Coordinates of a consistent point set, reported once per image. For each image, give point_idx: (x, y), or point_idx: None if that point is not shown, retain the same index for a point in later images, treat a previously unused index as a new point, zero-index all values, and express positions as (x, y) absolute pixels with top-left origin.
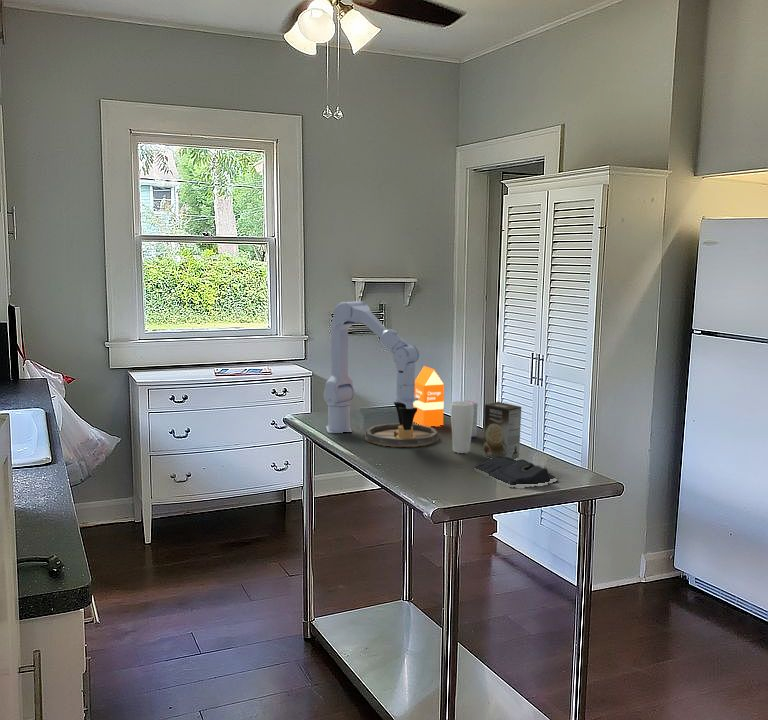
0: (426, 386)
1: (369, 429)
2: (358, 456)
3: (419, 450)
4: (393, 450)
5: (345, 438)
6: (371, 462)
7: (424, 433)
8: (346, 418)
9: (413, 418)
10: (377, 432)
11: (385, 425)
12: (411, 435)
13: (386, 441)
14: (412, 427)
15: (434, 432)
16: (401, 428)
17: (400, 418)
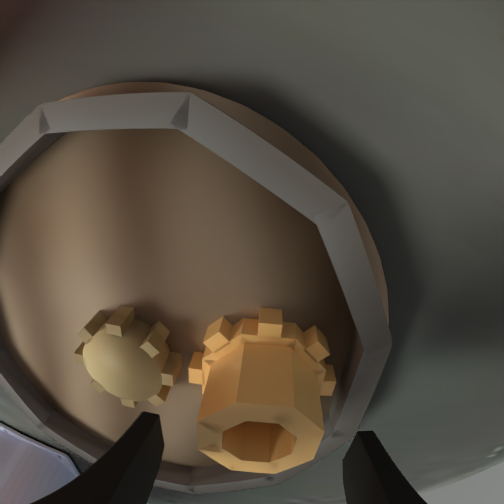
0: None
1: None
2: None
3: (449, 319)
4: (387, 424)
5: None
6: (470, 467)
7: (69, 179)
8: (45, 495)
9: (424, 501)
10: (70, 412)
11: (5, 375)
12: (303, 371)
13: None
14: (298, 410)
15: (187, 126)
16: (293, 464)
17: (149, 481)
